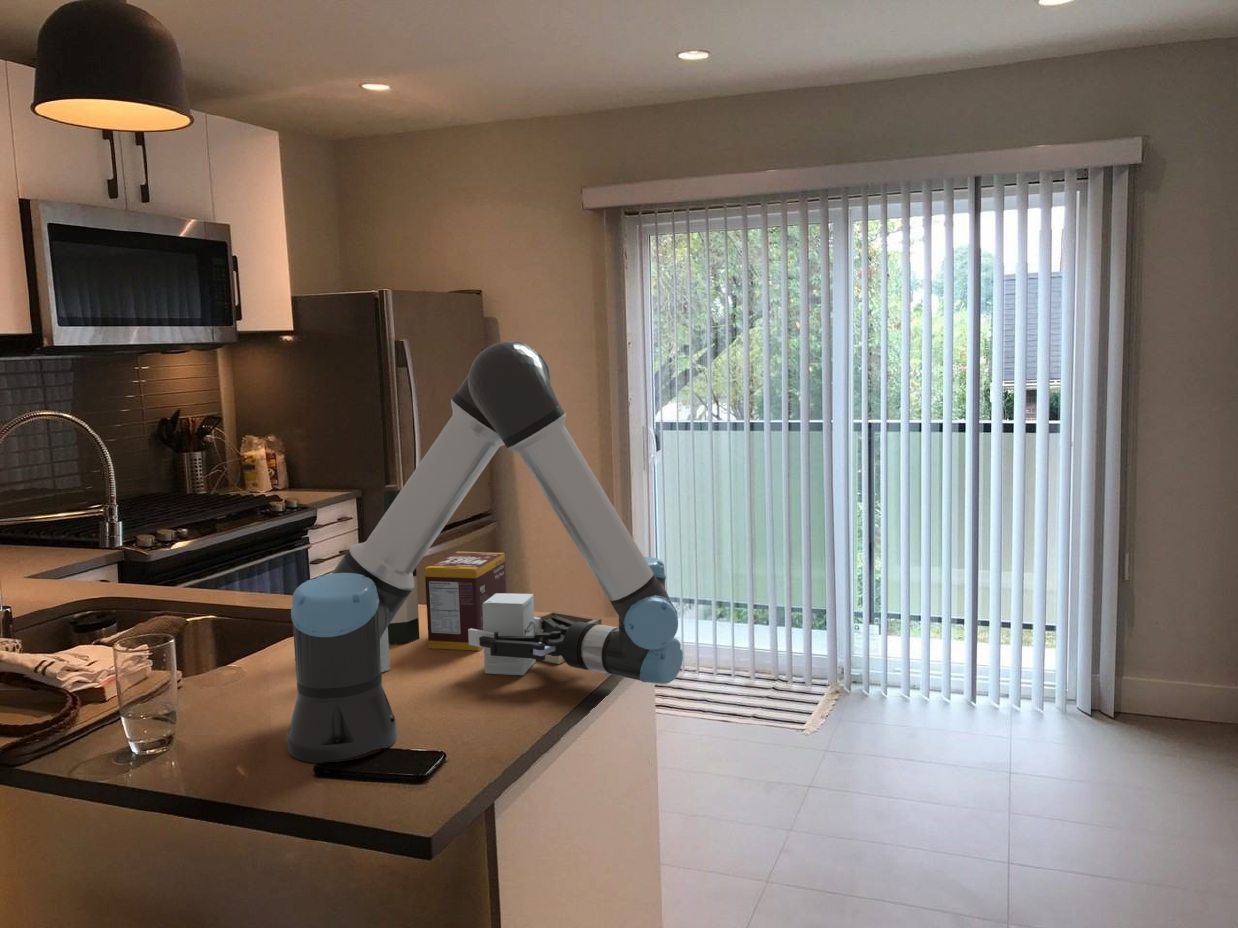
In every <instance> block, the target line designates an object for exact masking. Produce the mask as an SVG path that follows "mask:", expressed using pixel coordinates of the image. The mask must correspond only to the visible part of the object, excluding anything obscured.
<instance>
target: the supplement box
mask: <svg viewBox="0 0 1238 928" xmlns="http://www.w3.org/2000/svg"><path fill="white" fill-rule="evenodd" d="M505 556H506V554H505V552H482V551H480V552H479V551H478V552H477V551H456V552H453V553H451V554H450V555H448V556H446V557H443V558H442V559H439V560H438V561H436V562H433V563H432V564H429V566H426V567H425V568H424V580H425V581H424V582H425V598H426V599H425V600H426V602H425V603H426V618H427V638H428V641H427V642H428V649H434V650H435V649H438V650H457V651H474V652H475V651H476V652H479V651H480V650H482V649H484V648H483V647H478V646H473V645H469V638H468V629H471V628H472V629H477V630H482V631H483V603H484V602H485V601H487V600H488V599H489V598H490V597H492V596H493V595H494V594H496V593H507V585H506V584H507V583H506V581H507V580H506V557H505Z"/></svg>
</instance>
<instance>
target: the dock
mask: <svg viewBox="0 0 1238 928" xmlns="http://www.w3.org/2000/svg"><path fill="white" fill-rule="evenodd" d="M552 616H559V617H562V618H565V619H568V620H571V621H573V622H585V623H591V624H596V625H603V624H602V618H596V617H591V616H584V615H579V614H578V615H577V614H572V613H567V612H562V611H561V612H560V611H554V610H551V611H548V612H544V613H542V614H540V615H538V616H536V617H537V618H541V619H542V620H543V618H550V619H552ZM604 625H605V624H604ZM605 626H607V625H605ZM610 626H611V625H610ZM611 627H613V626H611ZM616 627H617V626H616ZM617 628H619V626H618V627H617ZM542 633H543V630H542ZM535 635H536V633H535ZM540 642H541V643H542V638H540ZM542 662H545V663H546V662H547V663H551V664H556V665H560V664H563V663H566V662H565V660H564V659H563V657H562V656H551V655H545V660H542Z"/></svg>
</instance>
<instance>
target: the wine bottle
mask: <svg viewBox="0 0 1238 928" xmlns="http://www.w3.org/2000/svg"><path fill="white" fill-rule="evenodd" d="M400 491H401V489H400V488H398V484H387V485H385V486H384V489H382V496H383V514H385V513H386V512H387V510H388V509H389V507H390V506H391V504H392V503H393V501H394V500H395V498H396V497H397V496H398V494H399V493H400ZM417 577H418V576H417V567H416V568H415V570H414V571H413V578H414V583H415V586H414V588H413V590H412V591H411V592H410V594H409V596H408V597H407V598H406V600H405V601H404V603H403V604H402V606H401V607H400V609H399V610H398V611H397V613H396V614H395V616H394V618H393V620H392V621H391V623H390V624H389V625H388V643H389V646H392V645H401V644H410V643H412V642H415V641H417V640H420V619H419V618H420V617H419V616H420V615H419V599H418V579H417Z"/></svg>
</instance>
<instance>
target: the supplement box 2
mask: <svg viewBox="0 0 1238 928" xmlns="http://www.w3.org/2000/svg"><path fill="white" fill-rule="evenodd" d="M534 617H535V600H534V594H533V593H509V592H508V593H507V592H506V593H496V594H494V595H493V596H492V597H490V598H489V599H488V600H487V601H485V602H484V603H483V631H488V632H493V633H494V632H498V633H499V634H500V636H535V623H534ZM483 652H484V653H483V655H484V656H483V658H484V660H483V662H484V673H485V674H488V675H489V674H491V675H492V674H493V675H506V676H507V675H508V676H509V675H511V676H524V675H525V674H526V673H527V672H528V671H529V669H531V668H532V666H533V665H534V664H535V663H536V659H531V658H518V657H503V656H491V655H490V649H488V648H483Z"/></svg>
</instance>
